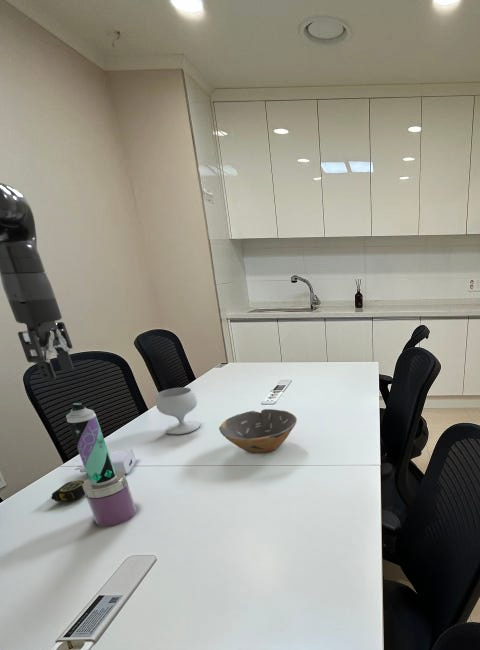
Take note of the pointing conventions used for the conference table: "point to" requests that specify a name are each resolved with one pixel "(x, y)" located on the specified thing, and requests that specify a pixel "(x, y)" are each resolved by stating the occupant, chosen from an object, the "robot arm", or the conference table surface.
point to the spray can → (91, 445)
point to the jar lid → (105, 487)
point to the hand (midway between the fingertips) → (59, 375)
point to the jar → (113, 507)
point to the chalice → (177, 408)
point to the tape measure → (69, 491)
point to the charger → (119, 461)
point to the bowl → (258, 430)
